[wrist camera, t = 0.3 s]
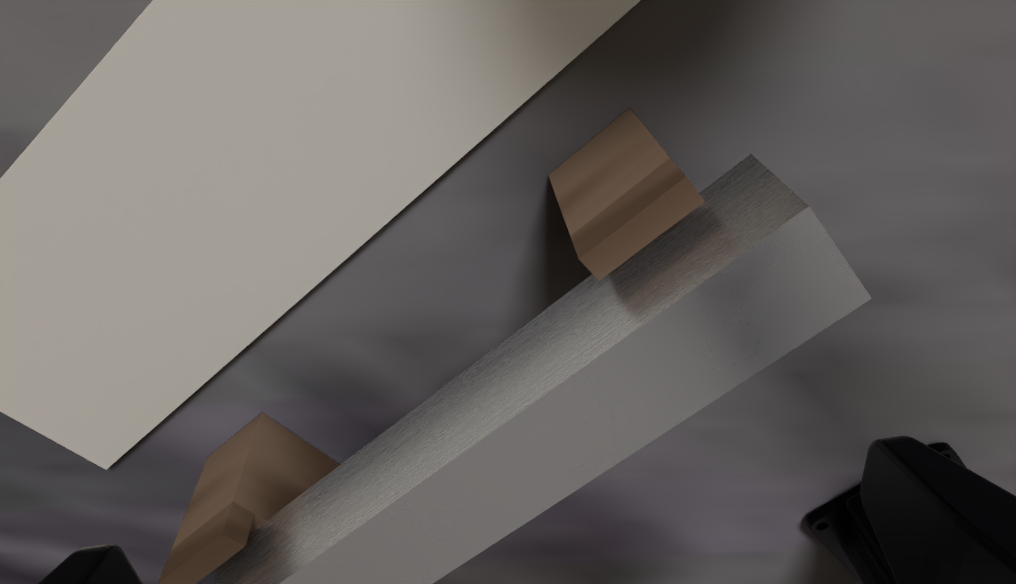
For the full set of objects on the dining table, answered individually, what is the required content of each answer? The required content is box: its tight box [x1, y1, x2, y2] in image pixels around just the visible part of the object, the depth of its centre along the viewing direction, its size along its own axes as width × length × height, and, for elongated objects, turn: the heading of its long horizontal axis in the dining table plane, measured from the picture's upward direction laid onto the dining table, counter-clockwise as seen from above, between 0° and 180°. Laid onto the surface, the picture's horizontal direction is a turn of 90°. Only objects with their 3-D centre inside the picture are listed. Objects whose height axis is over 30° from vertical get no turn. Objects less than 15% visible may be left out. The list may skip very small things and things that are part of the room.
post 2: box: [548, 108, 705, 281], centre depth 19 cm, size 6×3×5 cm, turn 41°
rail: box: [196, 154, 872, 584], centre depth 19 cm, size 3×22×3 cm, turn 131°
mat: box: [0, 0, 641, 470], centre depth 19 cm, size 8×24×1 cm, turn 131°
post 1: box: [159, 413, 340, 584], centre depth 24 cm, size 6×3×5 cm, turn 41°
